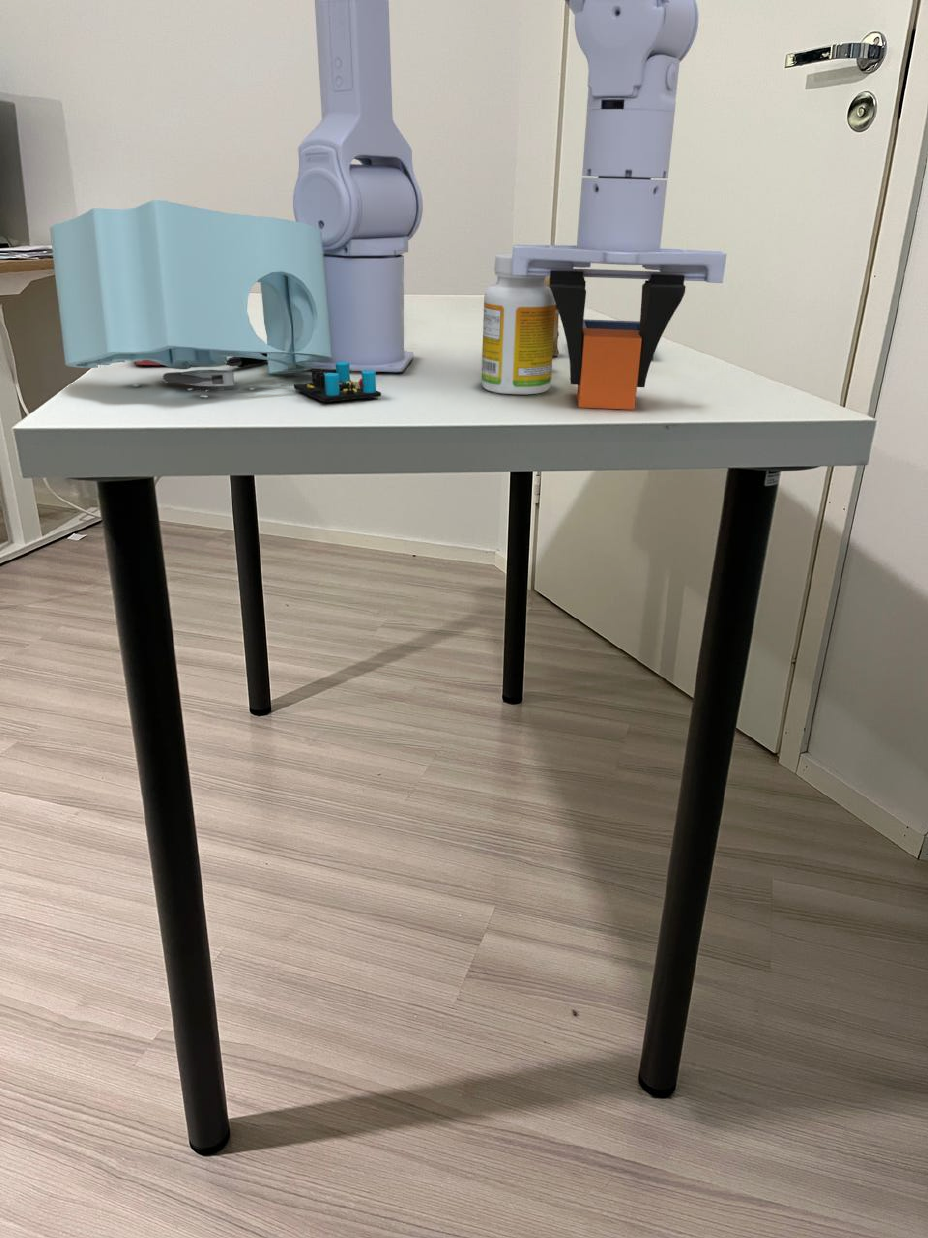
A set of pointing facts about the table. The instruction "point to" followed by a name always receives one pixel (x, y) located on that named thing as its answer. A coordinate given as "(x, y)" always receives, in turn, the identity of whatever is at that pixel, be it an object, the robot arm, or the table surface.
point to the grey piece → (201, 377)
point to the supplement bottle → (517, 332)
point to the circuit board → (340, 385)
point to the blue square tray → (611, 324)
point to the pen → (245, 361)
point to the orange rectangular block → (609, 368)
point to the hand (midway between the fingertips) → (606, 383)
